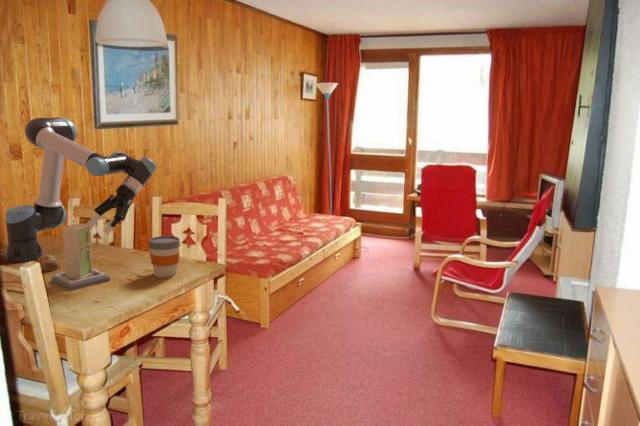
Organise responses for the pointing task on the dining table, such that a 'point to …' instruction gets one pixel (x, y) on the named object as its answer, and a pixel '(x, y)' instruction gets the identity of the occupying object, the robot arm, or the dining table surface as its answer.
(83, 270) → the toy refrigerator
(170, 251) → the reusable coffee cup
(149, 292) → the dining table surface
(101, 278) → the base plate
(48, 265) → the bread roll
